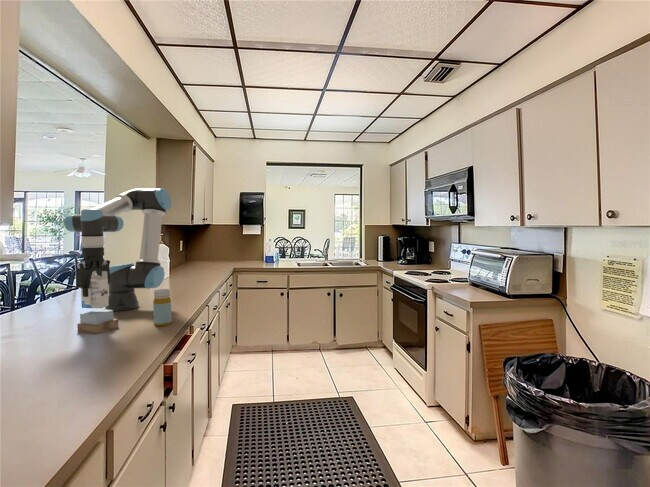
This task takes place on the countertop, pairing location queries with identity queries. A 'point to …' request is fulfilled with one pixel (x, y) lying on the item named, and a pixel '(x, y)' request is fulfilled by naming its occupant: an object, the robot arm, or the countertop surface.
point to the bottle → (162, 307)
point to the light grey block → (96, 316)
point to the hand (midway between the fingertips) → (95, 302)
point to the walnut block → (97, 327)
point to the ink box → (97, 291)
